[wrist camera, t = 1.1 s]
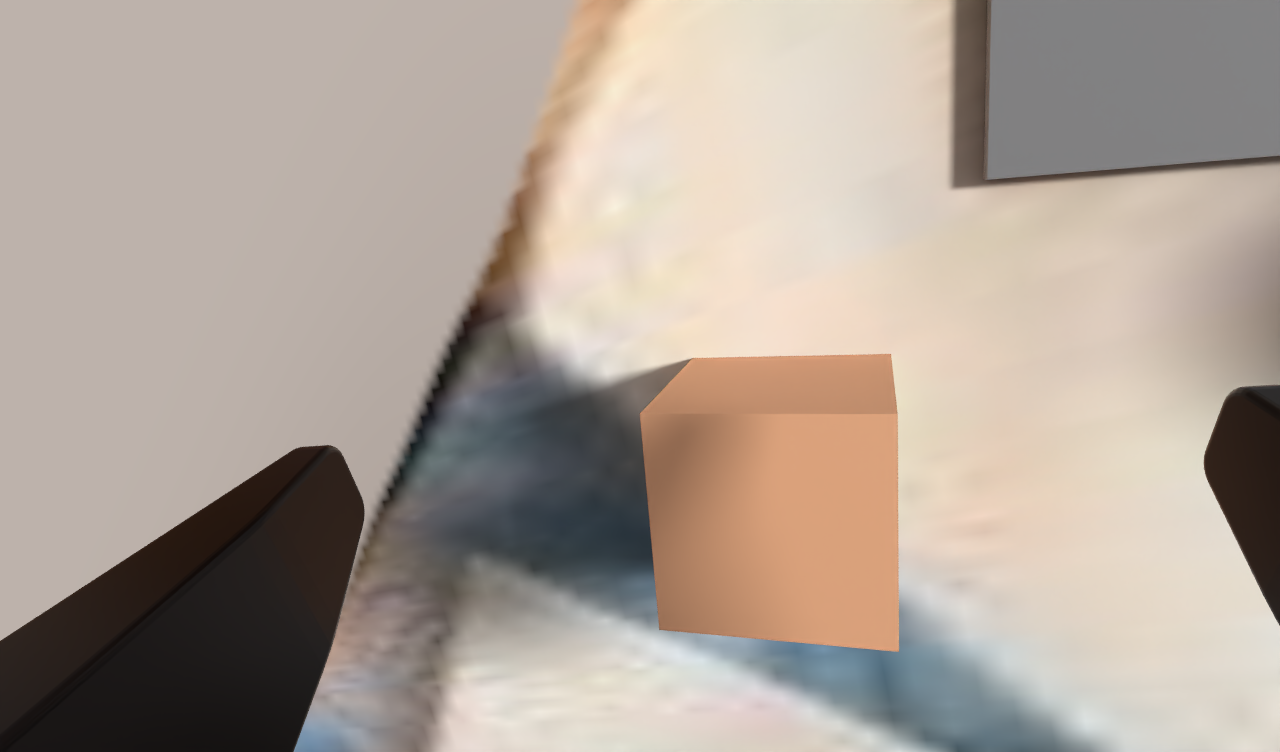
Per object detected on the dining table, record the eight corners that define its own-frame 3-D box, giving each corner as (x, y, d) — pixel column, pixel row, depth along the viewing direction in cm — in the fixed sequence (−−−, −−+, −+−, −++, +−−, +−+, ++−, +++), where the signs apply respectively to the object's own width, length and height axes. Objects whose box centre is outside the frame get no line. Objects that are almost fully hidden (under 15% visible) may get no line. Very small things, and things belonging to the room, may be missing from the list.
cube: (892, 538, 20) (899, 651, 15) (705, 529, 21) (659, 629, 17) (891, 353, 18) (897, 413, 14) (693, 357, 20) (640, 413, 15)
